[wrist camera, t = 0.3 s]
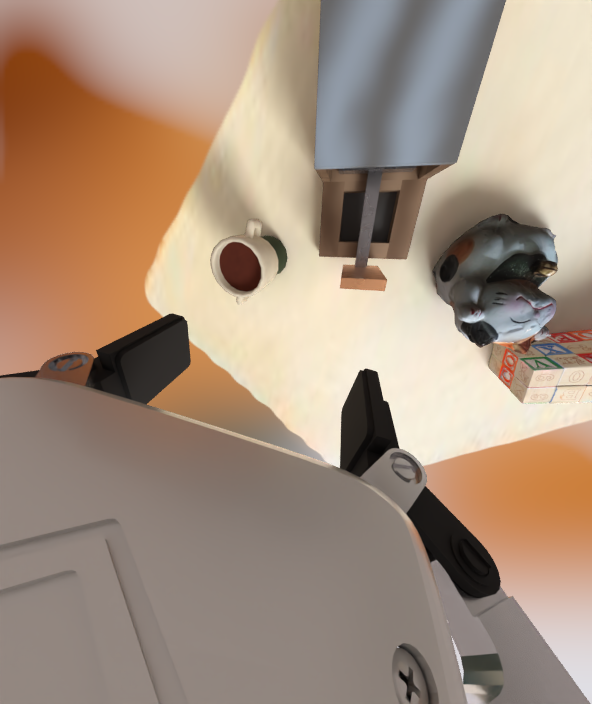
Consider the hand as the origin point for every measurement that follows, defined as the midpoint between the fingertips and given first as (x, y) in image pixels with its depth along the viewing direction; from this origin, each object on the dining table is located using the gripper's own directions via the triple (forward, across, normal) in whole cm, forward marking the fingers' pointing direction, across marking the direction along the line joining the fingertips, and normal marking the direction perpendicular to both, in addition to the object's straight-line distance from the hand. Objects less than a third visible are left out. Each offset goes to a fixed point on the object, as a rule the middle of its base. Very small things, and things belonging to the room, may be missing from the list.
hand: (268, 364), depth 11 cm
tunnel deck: (+29, -3, -17) cm, 34 cm away
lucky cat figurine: (+29, -24, -5) cm, 38 cm away
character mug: (+30, +9, 0) cm, 31 cm away
